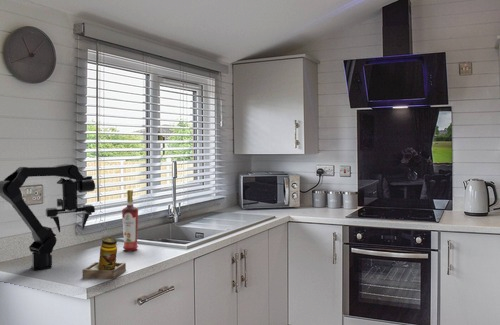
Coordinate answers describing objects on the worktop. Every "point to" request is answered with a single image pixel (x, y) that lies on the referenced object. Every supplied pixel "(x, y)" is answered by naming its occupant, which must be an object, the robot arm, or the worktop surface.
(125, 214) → the liquor
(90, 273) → the walnut tray
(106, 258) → the condiment
